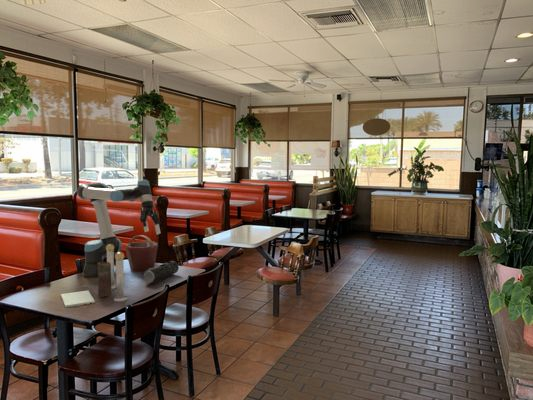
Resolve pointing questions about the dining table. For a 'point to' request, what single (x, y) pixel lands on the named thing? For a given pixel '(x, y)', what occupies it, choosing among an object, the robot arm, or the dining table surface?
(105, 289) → the rusty metal cylinder
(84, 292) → the sage board
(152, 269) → the muzzle brake
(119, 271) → the stanchion posts
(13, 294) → the dining table surface
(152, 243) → the bucket
